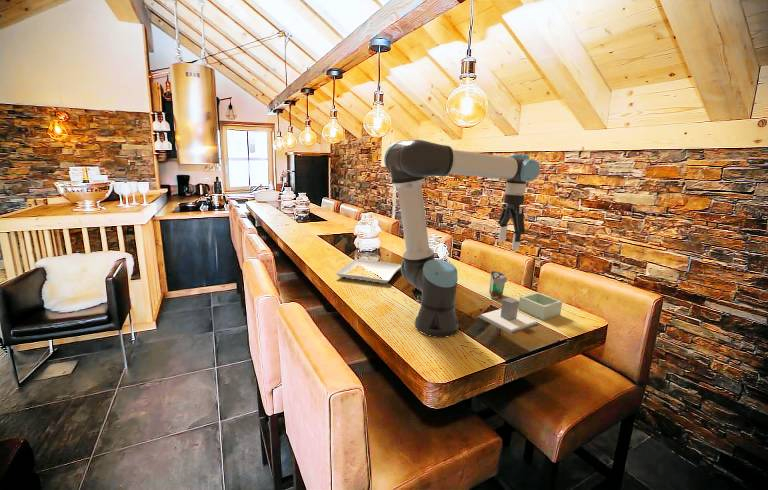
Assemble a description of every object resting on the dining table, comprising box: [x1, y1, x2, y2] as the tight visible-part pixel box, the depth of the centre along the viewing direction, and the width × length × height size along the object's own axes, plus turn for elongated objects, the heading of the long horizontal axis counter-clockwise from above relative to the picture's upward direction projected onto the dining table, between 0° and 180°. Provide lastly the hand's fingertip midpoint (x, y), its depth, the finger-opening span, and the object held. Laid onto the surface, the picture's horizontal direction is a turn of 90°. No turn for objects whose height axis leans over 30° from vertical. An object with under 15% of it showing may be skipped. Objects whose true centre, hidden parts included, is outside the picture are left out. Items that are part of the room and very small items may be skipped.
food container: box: [489, 270, 508, 300], centre depth 155 cm, size 12×6×10 cm, turn 168°
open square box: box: [517, 291, 563, 321], centre depth 140 cm, size 11×11×6 cm
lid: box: [480, 297, 538, 332], centre depth 131 cm, size 14×14×8 cm
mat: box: [476, 314, 541, 335], centre depth 132 cm, size 16×16×1 cm
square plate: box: [335, 258, 401, 284], centre depth 181 cm, size 27×27×4 cm
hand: (508, 245), depth 147 cm, fingers open, 13 cm apart
